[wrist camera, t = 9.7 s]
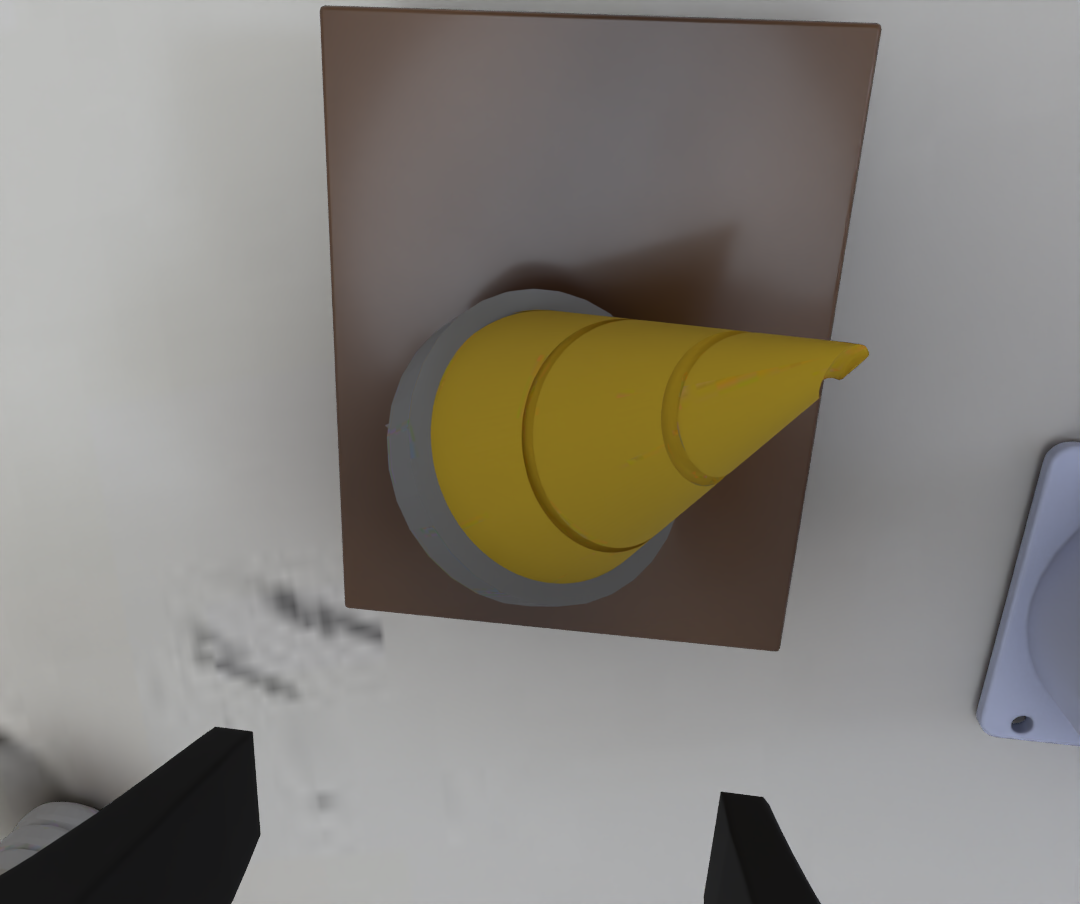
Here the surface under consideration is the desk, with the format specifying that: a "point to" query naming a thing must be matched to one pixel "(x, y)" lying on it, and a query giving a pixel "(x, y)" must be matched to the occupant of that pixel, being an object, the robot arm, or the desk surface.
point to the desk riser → (588, 252)
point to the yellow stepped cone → (580, 437)
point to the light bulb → (41, 830)
